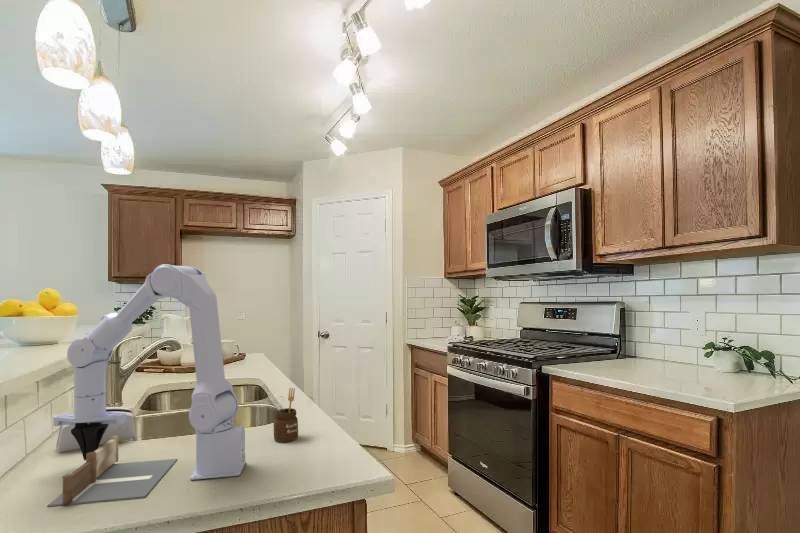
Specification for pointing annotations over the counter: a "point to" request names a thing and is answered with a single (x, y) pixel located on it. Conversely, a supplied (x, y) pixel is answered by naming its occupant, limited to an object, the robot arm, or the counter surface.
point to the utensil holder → (286, 422)
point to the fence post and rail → (79, 479)
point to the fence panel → (106, 455)
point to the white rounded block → (122, 431)
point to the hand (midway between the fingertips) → (90, 458)
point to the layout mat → (122, 482)
